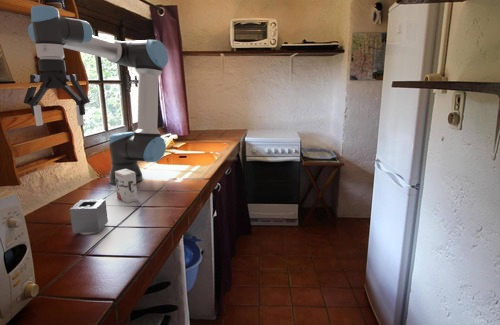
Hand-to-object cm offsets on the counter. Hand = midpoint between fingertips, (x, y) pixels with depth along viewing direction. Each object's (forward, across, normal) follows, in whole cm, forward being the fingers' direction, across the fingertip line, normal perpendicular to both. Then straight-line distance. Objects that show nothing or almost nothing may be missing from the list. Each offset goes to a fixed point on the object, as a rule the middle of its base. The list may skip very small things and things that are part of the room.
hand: (60, 125), depth 114 cm
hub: (+33, +11, -12) cm, 37 cm away
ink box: (+33, +14, +17) cm, 40 cm away
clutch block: (+32, +11, -12) cm, 36 cm away
